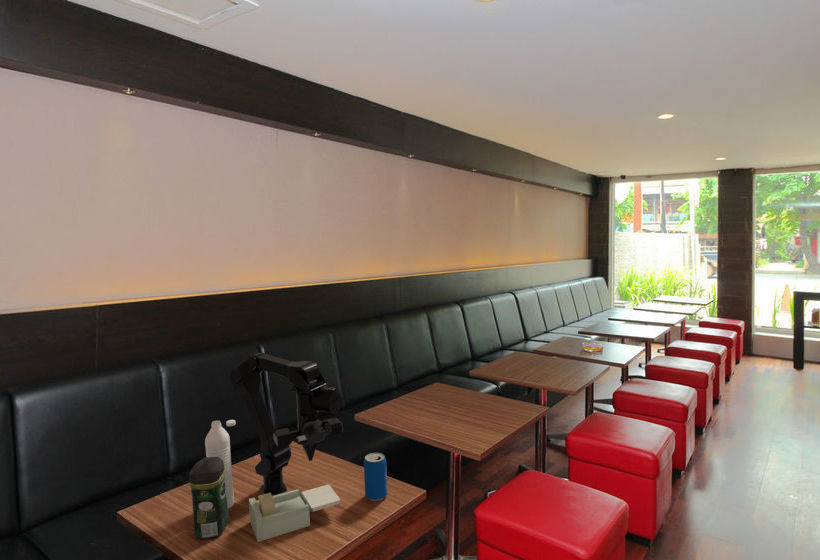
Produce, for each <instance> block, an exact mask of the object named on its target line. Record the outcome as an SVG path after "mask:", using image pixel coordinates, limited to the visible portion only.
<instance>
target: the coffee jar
mask: <svg viewBox="0 0 820 560" xmlns="http://www.w3.org/2000/svg"><path fill="white" fill-rule="evenodd" d="M188 476H189V486H190V491H191V501H192V518H193V522H192V523H193V534H194V536H195V538H198V539H201V540H202V539H203V540H205V539H212V538H215V537H219V536H220V535H222V534H223V532H224V531H225V529H226V528H227V525H228V523H229V520H230V517H229V509H228V507H227V498H226V487H225V468H224V462H223V460H222V459H221V458H219V457H203V458H202V459H200V460H199V461H197V462H196V463H195V464H194V465H193V467H191V470H190V471H189V474H188Z"/></svg>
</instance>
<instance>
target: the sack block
mask: <svg viewBox="0 0 820 560" xmlns="http://www.w3.org/2000/svg"><path fill="white" fill-rule="evenodd" d="M272 496H273V495H271V493H267V494H264V493H263V494H261V495H258V500H259V509H260V512H261V514H262V518H263V517H266V516H269V515H273V514H276V512H275V501H274V499H273V497H272Z"/></svg>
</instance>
